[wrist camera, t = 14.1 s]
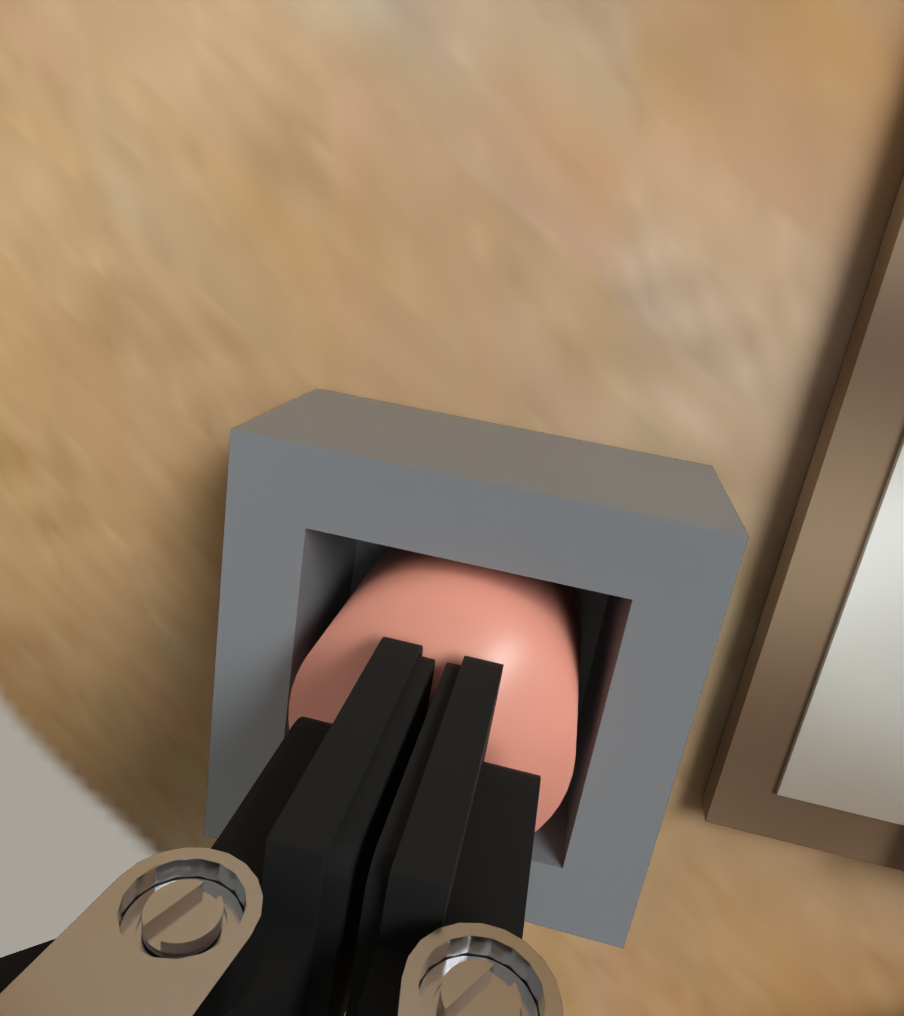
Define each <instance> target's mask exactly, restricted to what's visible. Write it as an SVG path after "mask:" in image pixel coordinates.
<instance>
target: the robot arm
mask: <svg viewBox="0 0 904 1016" xmlns="http://www.w3.org/2000/svg"><path fill="white" fill-rule="evenodd" d="M422 654H423V646H422V645H418V644H414V643H410V642H406V641H401V640H397V639H393V638H388V637H383V638H382V639H381V640H380V642H379V644H378V646H377V647H376V649H375V651H374V653H373V654H372V656H371V658H370V659H369V661H368V663H367V665H366V666H365V668H364V670H363V672H362V673H361V675H360V677H359V679H358V680H357V682H356V684H355V685H354V687H353V689H352V691H351V692H350V694H349V696H348V698H347V699H346V701H345V703H344V705H343V706H342V708H341V710H340V712H339V713H338V715H337V717H336V718H335V720H334V722H333V724H332V723H328V722H324V721H320V720H316V719H312V718H308V717H304V716H302V717H300V718H298V719H297V720H296V722H295V723H294V724H293V725H292V727H291V728H290V730H289V731H288V733H287V734H286V736H285V737H284V739H283V741H282V742H281V744H280V745H279V747H278V748H277V750H276V751H275V753H274V754H273V756H272V757H271V759H270V760H269V762H268V763H267V765H266V766H265V768H264V769H263V771H262V772H261V774H260V775H259V777H258V778H257V780H256V781H255V783H254V784H253V786H252V787H251V789H250V791H249V792H248V794H247V795H246V797H245V798H244V800H243V801H242V803H241V804H240V806H239V807H238V809H237V810H236V812H235V813H234V815H233V816H232V818H231V819H230V821H229V822H228V824H227V825H226V827H225V828H224V830H223V831H222V833H221V834H220V836H219V838H218V839H217V841H216V842H215V844H214V845H213V847H212V848H211V849H210V848H193V847H184V848H179V849H174V850H169V851H164V852H160V853H158V854H156V855H153V856H151V857H149V858H147V859H145V860H142V861H140V862H138V863H137V864H136V865H134V866H133V867H132V868H130V869H129V870H128V871H126V872H125V873H124V874H122V875H121V876H120V877H119V878H118V879H117V880H116V881H115V882H114V883H112V884H111V886H109V887H108V888H107V889H106V890H105V891H104V892H103V893H102V894H101V895H100V896H99V897H98V898H97V899H96V900H95V901H94V902H93V903H92V904H91V905H90V906H89V907H88V908H87V909H86V910H85V911H84V912H83V913H82V914H81V915H80V916H79V917H78V918H77V919H76V920H75V921H74V922H73V923H72V924H71V925H70V926H69V927H68V928H67V929H66V930H65V931H64V932H63V933H62V934H61V935H60V936H59V937H57V938H56V939H54V940H51V941H48V942H45V943H42V944H39V945H36V946H33V947H31V948H28V949H25V950H22V951H19V952H16V953H13V954H10V955H7V956H5V957H2V958H0V1016H344V1015H345V1012H346V1015H345V1016H564V1013H563V1004H562V999H561V996H560V992H559V988H558V984H557V981H556V978H555V977H554V975H553V973H552V972H551V970H550V968H549V967H548V965H547V964H546V962H545V960H544V959H543V958H542V957H541V956H540V955H539V954H538V953H537V952H536V951H535V950H534V949H533V948H532V947H531V946H530V945H529V944H528V943H527V942H526V941H524V940H522V936H523V927H524V919H525V910H526V902H527V893H528V885H529V876H530V868H531V859H532V850H533V842H534V833H535V825H536V816H537V808H538V799H539V791H540V781H541V777H540V775H536V774H532V773H528V772H524V771H520V770H516V769H512V768H508V767H504V766H500V765H496V764H492V763H488V762H484V759H485V754H486V750H487V745H488V740H489V735H490V730H491V725H492V720H493V715H494V711H495V706H496V701H497V696H498V691H499V686H500V681H501V677H502V672H503V666H504V664H500V663H495V662H491V661H487V660H483V659H478V658H474V657H470V656H464V658H463V661H462V664H461V665H457V664H453V663H448V662H447V663H446V665H445V668H444V671H443V673H442V676H441V679H440V681H439V684H438V686H437V689H436V692H435V694H434V697H433V699H432V702H431V705H430V707H429V710H428V713H427V709H428V704H429V698H430V692H431V686H432V680H433V675H434V668H435V659H431V658H427V657H423V656H422Z"/></svg>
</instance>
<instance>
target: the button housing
mask: <svg viewBox="0 0 904 1016" xmlns="http://www.w3.org/2000/svg"><path fill="white" fill-rule="evenodd" d="M748 538H749V535H748V533H747V531H746V529H745V527H744V525H743V523H742V521H741V519H740V518H739V516H738V514H737V512H736V510H735V508H734V506H733V504H732V502H731V501H730V499H729V497H728V495H727V493H726V491H725V489H724V487H723V485H722V483H721V482H720V480H719V478H718V476H717V474H716V472H715V470H714V468H713V466H708V465H703V464H698V463H693V462H688V461H683V460H678V459H673V458H667V457H662V456H657V455H652V454H647V453H642V452H637V451H632V450H627V449H622V448H617V447H611V446H606V445H601V444H596V443H591V442H586V441H581V440H576V439H571V438H566V437H561V436H555V435H550V434H545V433H540V432H535V431H530V430H525V429H520V428H515V427H510V426H505V425H499V424H494V423H489V422H484V421H479V420H474V419H469V418H464V417H459V416H454V415H449V414H443V413H438V412H433V411H428V410H423V409H418V408H413V407H408V406H403V405H398V404H393V403H387V402H382V401H377V400H372V399H367V398H362V397H357V396H352V395H347V394H342V393H337V392H331V391H326V390H321V389H315V390H313V391H311V392H309V393H307V394H305V395H303V396H300V397H298V398H296V399H294V400H292V401H290V402H288V403H286V404H284V405H281V406H279V407H277V408H275V409H273V410H271V411H269V412H267V413H264V414H262V415H260V416H258V417H256V418H254V419H252V420H250V421H247V422H245V423H243V424H241V425H239V426H237V427H235V428H233V429H231V434H230V449H229V464H228V479H227V495H226V510H225V525H224V540H223V555H222V571H221V586H220V601H219V616H218V631H217V647H216V662H215V677H214V692H213V707H212V723H211V738H210V753H209V768H208V783H207V799H206V814H205V829H204V835H208V836H212V837H215V838H219V836H220V834H221V833H222V831H223V830H224V828H225V827H226V825H227V824H228V822H229V821H230V819H231V818H232V816H233V815H234V813H235V812H236V810H237V809H238V807H239V806H240V804H241V803H242V801H243V800H244V798H245V797H246V795H247V794H248V792H249V791H250V789H251V787H252V786H253V784H254V783H255V781H256V780H257V778H258V777H259V775H260V774H261V772H262V771H263V769H264V768H265V766H266V765H267V763H268V762H269V760H270V759H271V757H272V756H273V754H274V753H275V751H276V750H277V748H278V747H279V745H280V744H281V742H282V741H283V739H284V737H285V736H286V734H287V733H288V731H289V721H288V718H289V701H290V696H291V690H292V687H293V684H294V681H295V678H296V675H297V673H298V671H299V669H300V667H301V665H302V663H303V661H304V659H305V658H306V657H307V655H308V654H309V653H310V651H311V650H312V648H313V647H314V646H315V644H316V643H317V642H318V640H319V639H320V638H321V636H322V635H323V633H324V632H325V631H326V629H327V628H328V627H329V625H330V624H331V623H332V621H333V620H334V618H335V617H336V616H337V614H338V613H339V612H340V610H341V609H342V608H343V606H344V605H345V603H346V602H347V601H348V599H349V598H350V597H351V595H352V594H353V593H354V591H355V590H356V588H357V587H358V586H359V584H360V583H361V582H362V580H363V579H364V578H365V576H366V575H367V573H368V572H369V571H370V569H371V568H372V567H373V565H374V564H375V563H376V561H377V560H378V559H379V557H380V556H381V554H382V553H383V552H384V551H385V550H386V549H387V548H388V547H394V548H398V549H403V550H408V551H412V552H417V553H421V554H426V555H430V556H435V557H440V558H444V559H449V560H453V561H458V562H462V563H467V564H471V565H476V566H481V567H485V568H490V569H494V570H499V571H503V572H508V573H513V574H517V575H522V576H526V577H531V578H535V579H540V580H545V581H549V582H554V583H558V584H563V585H567V586H572V588H573V591H574V593H575V595H576V598H577V602H578V605H579V609H580V615H581V622H582V639H581V658H580V678H579V698H578V718H577V737H576V757H575V764H574V770H573V775H572V778H571V781H570V784H569V787H568V790H567V792H566V794H565V796H564V798H563V800H562V802H561V803H560V805H559V807H558V808H557V809H556V811H555V812H554V813H553V815H552V816H551V817H550V818H549V819H548V820H547V821H546V822H545V823H544V824H543V825H542V826H541V827H540V828H539V829H538V830H537V831H536V832H535V833H534V842H533V850H532V859H531V868H530V876H529V885H528V893H527V902H526V910H525V919H524V922H528V923H532V924H535V925H539V926H543V927H546V928H550V929H554V930H558V931H561V932H565V933H569V934H572V935H576V936H580V937H583V938H587V939H591V940H594V941H598V942H602V943H605V944H609V945H613V946H616V947H620V948H624V944H625V941H626V938H627V934H628V931H629V928H630V925H631V921H632V918H633V915H634V911H635V908H636V905H637V902H638V898H639V895H640V892H641V889H642V885H643V882H644V879H645V875H646V872H647V869H648V866H649V862H650V859H651V856H652V853H653V849H654V846H655V843H656V839H657V836H658V833H659V830H660V826H661V823H662V820H663V817H664V813H665V810H666V807H667V803H668V800H669V797H670V794H671V790H672V787H673V784H674V780H675V777H676V774H677V771H678V767H679V764H680V761H681V758H682V754H683V751H684V748H685V744H686V741H687V738H688V735H689V731H690V728H691V725H692V722H693V718H694V715H695V712H696V708H697V705H698V702H699V699H700V695H701V692H702V689H703V686H704V682H705V679H706V676H707V672H708V669H709V666H710V663H711V659H712V656H713V653H714V649H715V646H716V643H717V640H718V636H719V633H720V630H721V627H722V623H723V620H724V617H725V613H726V610H727V607H728V604H729V600H730V597H731V594H732V591H733V587H734V584H735V581H736V577H737V574H738V571H739V568H740V564H741V561H742V558H743V555H744V551H745V548H746V545H747V541H748Z"/></svg>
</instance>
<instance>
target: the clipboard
mask: <svg viewBox="0 0 904 1016" xmlns="http://www.w3.org/2000/svg"><path fill="white" fill-rule="evenodd" d="M702 805H703V810H704V816H705V821H706V822H710V823H714V824H718V825H722V826H726V827H730V828H734V829H738V830H742V831H746V832H750V833H754V834H758V835H762V836H766V837H770V838H774V839H778V840H782V841H786V842H790V843H794V844H798V845H802V846H806V847H810V848H814V849H818V850H822V851H826V852H830V853H834V854H838V855H842V856H846V857H850V858H854V859H858V860H862V861H866V862H870V863H874V864H878V865H882V866H886V867H890V868H894V869H898V870H902V871H904V175H903V178H902V181H901V184H900V187H899V190H898V193H897V197H896V200H895V203H894V206H893V209H892V212H891V215H890V218H889V221H888V224H887V228H886V231H885V234H884V237H883V240H882V243H881V246H880V249H879V252H878V255H877V259H876V262H875V265H874V268H873V271H872V274H871V277H870V280H869V283H868V286H867V290H866V293H865V296H864V299H863V302H862V305H861V308H860V311H859V314H858V317H857V321H856V324H855V327H854V330H853V333H852V336H851V339H850V342H849V345H848V348H847V352H846V355H845V358H844V361H843V364H842V367H841V370H840V373H839V376H838V379H837V383H836V386H835V389H834V392H833V395H832V398H831V401H830V404H829V407H828V410H827V414H826V417H825V420H824V423H823V426H822V429H821V432H820V435H819V438H818V441H817V445H816V448H815V451H814V454H813V457H812V460H811V463H810V466H809V469H808V472H807V476H806V479H805V482H804V485H803V488H802V491H801V494H800V497H799V500H798V503H797V507H796V510H795V513H794V516H793V519H792V522H791V525H790V528H789V531H788V534H787V538H786V541H785V544H784V547H783V550H782V553H781V556H780V559H779V562H778V565H777V569H776V572H775V575H774V578H773V581H772V584H771V587H770V590H769V593H768V596H767V600H766V603H765V606H764V609H763V612H762V615H761V618H760V621H759V624H758V627H757V631H756V634H755V637H754V640H753V643H752V646H751V649H750V652H749V655H748V658H747V662H746V665H745V668H744V671H743V674H742V677H741V680H740V683H739V686H738V689H737V693H736V696H735V699H734V702H733V705H732V708H731V711H730V714H729V717H728V720H727V724H726V727H725V730H724V733H723V736H722V739H721V742H720V745H719V748H718V751H717V755H716V758H715V761H714V764H713V767H712V770H711V773H710V776H709V779H708V782H707V786H706V789H705V792H704V795H703V798H702Z"/></svg>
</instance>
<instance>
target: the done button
mask: <svg viewBox="0 0 904 1016" xmlns="http://www.w3.org/2000/svg"><path fill="white" fill-rule="evenodd" d="M383 637H388V638H393V639H397V640H401V641H406V642H410V643H414V644H418V645H422V646H423V654H422V656H423V657H427V658H431V659H435V668H434V675H433V680H432V686H431V692H430V698H429V704H428V709H427V713H428V710H429V707H430V705H431V702H432V699H433V697H434V694H435V692H436V689H437V686H438V684H439V681H440V679H441V676H442V673H443V671H444V668H445V665H446V663H447V662H448V663H453V664H457V665H461V664H462V661H463V658H464V656H470V657H474V658H478V659H483V660H487V661H491V662H495V663H500V664H504V666H503V672H502V677H501V681H500V686H499V691H498V696H497V701H496V706H495V711H494V715H493V720H492V725H491V730H490V735H489V740H488V745H487V750H486V754H485V759H484V762H488V763H492V764H496V765H500V766H504V767H508V768H512V769H516V770H520V771H524V772H528V773H532V774H536V775H540V777H541V781H540V791H539V799H538V808H537V816H536V825H535V832H536V831H537V830H538V829H539V828H540V827H541V826H542V825H543V824H544V823H545V822H546V821H547V820H548V819H549V818H550V817H551V816H552V815H553V813H554V812H555V811H556V809H557V808H558V807H559V805H560V803H561V802H562V800H563V798H564V796H565V794H566V792H567V790H568V787H569V784H570V781H571V778H572V775H573V770H574V764H575V757H576V737H577V718H578V698H579V678H580V658H581V639H582V622H581V615H580V609H579V605H578V602H577V598H576V595H575V593H574V591H573V588H572V586H567V585H563V584H558V583H554V582H549V581H545V580H540V579H535V578H531V577H526V576H522V575H517V574H513V573H508V572H503V571H499V570H494V569H490V568H485V567H481V566H476V565H471V564H467V563H462V562H458V561H453V560H449V559H444V558H440V557H435V556H430V555H426V554H421V553H417V552H412V551H408V550H403V549H398V548H394V547H388V548H387V549H386V550H385V551H384V552H383V553H382V554H381V556H380V557H379V559H378V560H377V561H376V563H375V564H374V565H373V567H372V568H371V569H370V571H369V572H368V573H367V575H366V576H365V578H364V579H363V580H362V582H361V583H360V584H359V586H358V587H357V588H356V590H355V591H354V593H353V594H352V595H351V597H350V598H349V599H348V601H347V602H346V603H345V605H344V606H343V608H342V609H341V610H340V612H339V613H338V614H337V616H336V617H335V618H334V620H333V621H332V623H331V624H330V625H329V627H328V628H327V629H326V631H325V632H324V633H323V635H322V636H321V638H320V639H319V640H318V642H317V643H316V644H315V646H314V647H313V648H312V650H311V651H310V653H309V654H308V655H307V657H306V658H305V659H304V661H303V663H302V665H301V667H300V669H299V671H298V673H297V675H296V678H295V681H294V684H293V687H292V690H291V696H290V701H289V718H288V721H289V730H290V728H291V727H292V725H293V724H294V723H295V722H296V720H297V719H298V718H300V717H302V716H304V717H308V718H312V719H316V720H320V721H324V722H328V723H332V724H333V722H334V720H335V718H336V717H337V715H338V713H339V712H340V710H341V708H342V706H343V705H344V703H345V701H346V699H347V698H348V696H349V694H350V692H351V691H352V689H353V687H354V685H355V684H356V682H357V680H358V679H359V677H360V675H361V673H362V672H363V670H364V668H365V666H366V665H367V663H368V661H369V659H370V658H371V656H372V654H373V653H374V651H375V649H376V647H377V646H378V644H379V642H380V640H381V639H382V638H383Z"/></svg>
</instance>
